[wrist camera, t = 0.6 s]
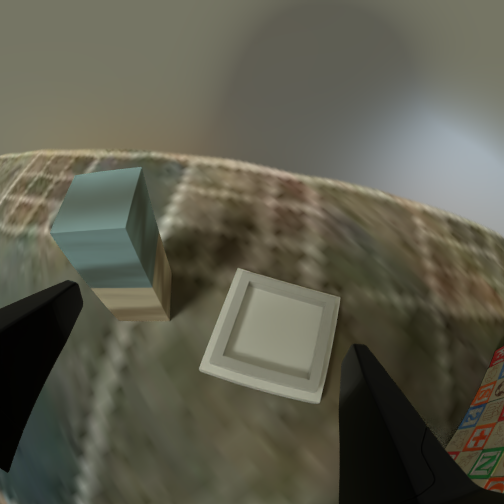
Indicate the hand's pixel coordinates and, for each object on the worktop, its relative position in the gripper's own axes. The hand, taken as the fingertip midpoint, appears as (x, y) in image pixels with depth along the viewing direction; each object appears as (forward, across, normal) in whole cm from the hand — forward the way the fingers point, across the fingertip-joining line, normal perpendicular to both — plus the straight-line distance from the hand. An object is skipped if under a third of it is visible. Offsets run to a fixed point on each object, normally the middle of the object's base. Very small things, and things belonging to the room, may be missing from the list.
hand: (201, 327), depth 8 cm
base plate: (+12, -4, +12) cm, 17 cm away
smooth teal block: (+13, +9, +11) cm, 19 cm away
